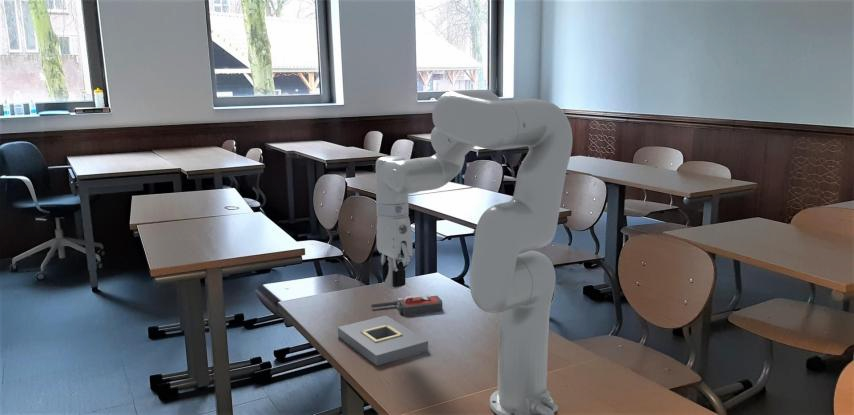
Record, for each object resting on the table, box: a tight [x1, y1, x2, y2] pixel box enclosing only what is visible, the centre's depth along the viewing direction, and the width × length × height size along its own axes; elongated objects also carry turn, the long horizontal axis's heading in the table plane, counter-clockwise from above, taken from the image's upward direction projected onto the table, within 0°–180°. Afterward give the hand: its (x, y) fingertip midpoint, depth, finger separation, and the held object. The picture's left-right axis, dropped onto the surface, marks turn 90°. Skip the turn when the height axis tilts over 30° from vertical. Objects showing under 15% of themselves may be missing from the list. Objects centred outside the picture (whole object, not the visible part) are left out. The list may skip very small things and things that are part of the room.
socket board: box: [337, 315, 429, 366], centre depth 156 cm, size 20×14×3 cm
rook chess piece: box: [384, 255, 403, 290], centre depth 153 cm, size 4×4×8 cm
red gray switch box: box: [370, 294, 443, 316], centre depth 178 cm, size 9×4×20 cm
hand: (393, 282), depth 153 cm, fingers closed on rook chess piece, 4 cm apart
